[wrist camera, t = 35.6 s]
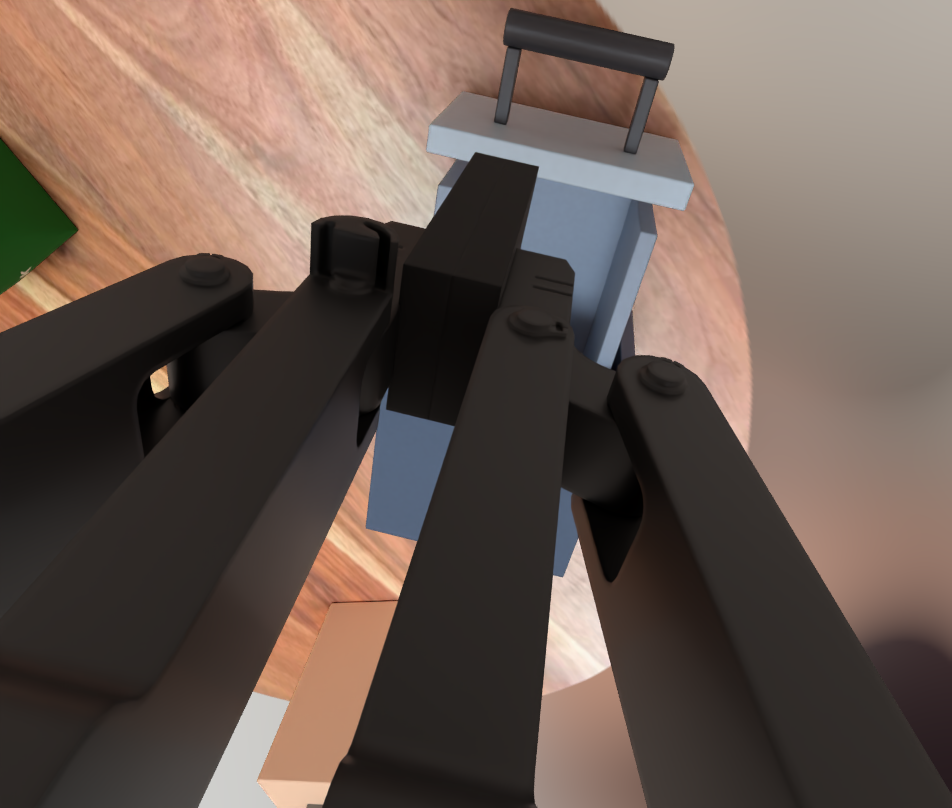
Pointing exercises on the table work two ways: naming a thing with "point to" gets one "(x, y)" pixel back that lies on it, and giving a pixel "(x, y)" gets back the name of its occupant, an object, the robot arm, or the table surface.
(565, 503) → the blue drawer cabinet
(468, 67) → the table surface
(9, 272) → the milk carton
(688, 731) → the robot arm
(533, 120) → the drawer
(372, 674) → the soap dispenser
